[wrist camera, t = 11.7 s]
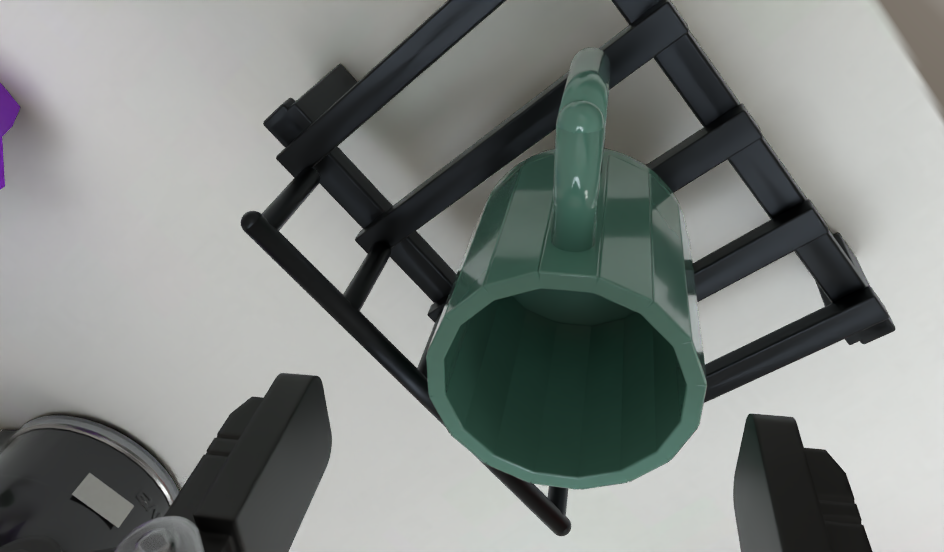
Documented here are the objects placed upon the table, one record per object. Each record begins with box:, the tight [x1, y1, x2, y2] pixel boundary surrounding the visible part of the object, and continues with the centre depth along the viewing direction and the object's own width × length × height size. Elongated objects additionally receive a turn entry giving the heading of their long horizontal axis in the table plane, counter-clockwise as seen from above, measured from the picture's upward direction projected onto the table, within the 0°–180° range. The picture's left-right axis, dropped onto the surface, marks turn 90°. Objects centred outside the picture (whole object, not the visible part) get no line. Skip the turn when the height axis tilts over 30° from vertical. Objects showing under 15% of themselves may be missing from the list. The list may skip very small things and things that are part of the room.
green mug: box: [426, 47, 707, 489], centre depth 18 cm, size 9×6×6 cm, turn 1°
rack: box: [241, 0, 895, 536], centre depth 21 cm, size 16×11×8 cm
